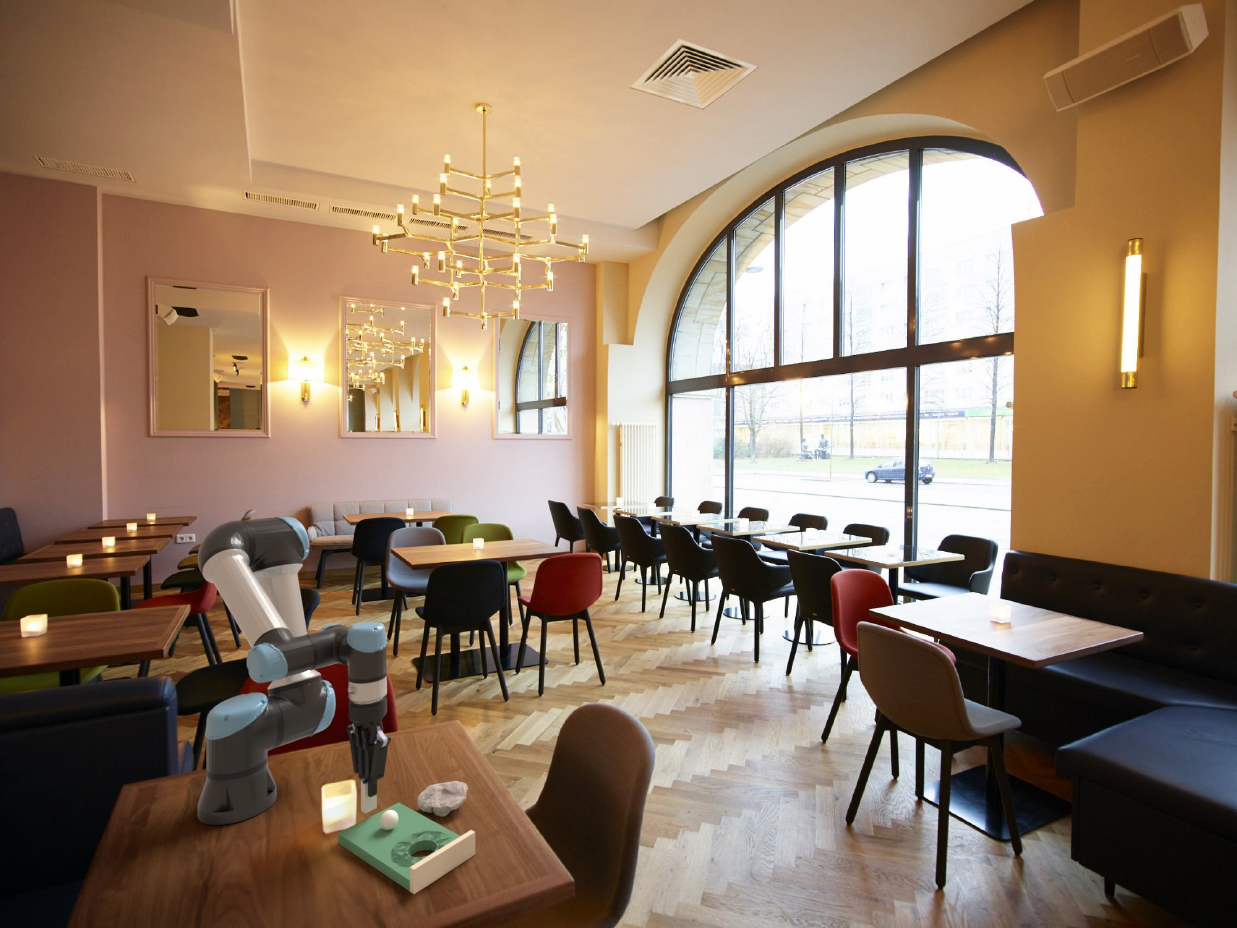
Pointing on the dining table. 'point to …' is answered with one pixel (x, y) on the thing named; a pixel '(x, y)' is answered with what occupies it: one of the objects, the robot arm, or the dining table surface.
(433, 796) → the fossil
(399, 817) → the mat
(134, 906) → the dining table surface
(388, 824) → the ball
